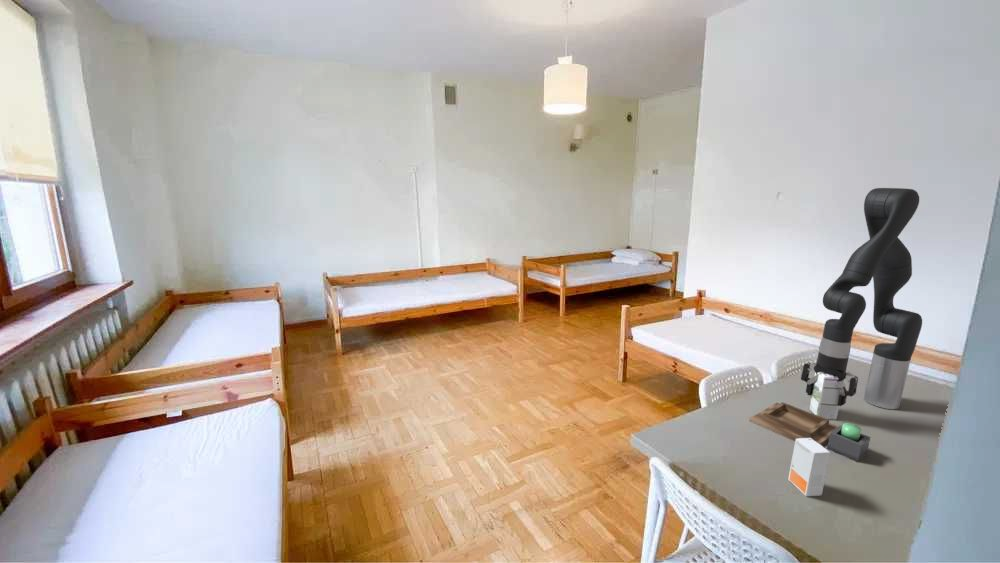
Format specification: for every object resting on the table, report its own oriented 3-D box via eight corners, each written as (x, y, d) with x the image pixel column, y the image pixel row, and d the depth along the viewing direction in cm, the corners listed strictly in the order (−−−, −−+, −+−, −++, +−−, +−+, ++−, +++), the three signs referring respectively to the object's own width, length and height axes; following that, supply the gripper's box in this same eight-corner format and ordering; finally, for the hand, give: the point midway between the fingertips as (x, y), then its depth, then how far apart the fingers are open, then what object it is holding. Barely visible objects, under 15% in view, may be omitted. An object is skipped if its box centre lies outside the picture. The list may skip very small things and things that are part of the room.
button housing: (836, 440, 123) (840, 425, 122) (867, 453, 117) (870, 437, 116) (826, 448, 119) (830, 432, 118) (857, 461, 114) (861, 445, 113)
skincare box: (787, 480, 107) (794, 437, 104) (802, 479, 107) (810, 437, 104) (806, 497, 101) (814, 453, 98) (822, 496, 101) (831, 452, 98)
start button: (843, 431, 120) (845, 421, 119) (861, 437, 117) (863, 428, 116) (838, 435, 118) (840, 425, 117) (856, 442, 115) (858, 432, 114)
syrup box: (837, 420, 134) (845, 378, 131) (816, 418, 135) (824, 376, 132) (827, 410, 140) (835, 370, 136) (807, 409, 141) (814, 368, 137)
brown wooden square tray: (776, 405, 143) (777, 397, 142) (840, 430, 128) (842, 421, 128) (749, 421, 133) (750, 412, 133) (815, 450, 119) (817, 440, 118)
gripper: (866, 357, 129) (856, 406, 132) (812, 343, 140) (804, 388, 144) (857, 363, 125) (846, 413, 128) (802, 347, 136) (794, 393, 140)
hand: (824, 399), depth 136 cm, fingers closed on syrup box, 8 cm apart
